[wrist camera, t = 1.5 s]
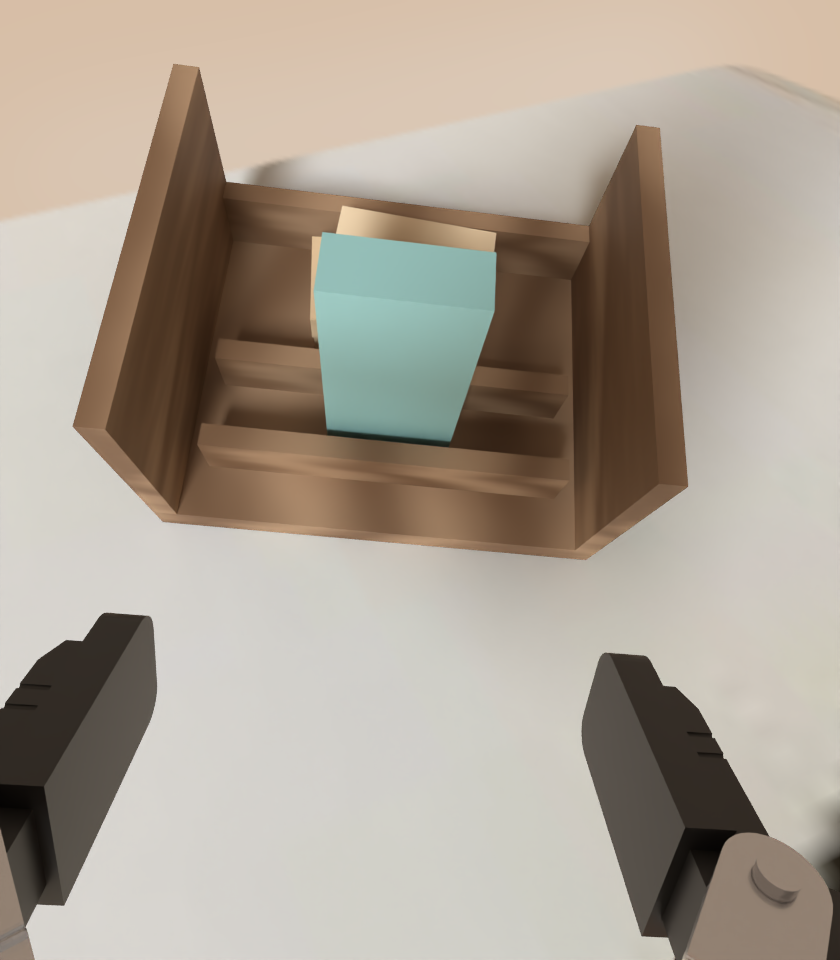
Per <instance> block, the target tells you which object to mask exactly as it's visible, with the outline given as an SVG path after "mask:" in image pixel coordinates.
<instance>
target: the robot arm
mask: <svg viewBox="0 0 840 960" xmlns="http://www.w3.org/2000/svg"><path fill="white" fill-rule="evenodd" d="M156 694H157V676H156V661H155V645H154V629H153V622H152V619H151V617H149V616H142V615H129V614H116V613H104V614H102V615H101V616H100V617H99V618H98V620H97V621H96V623H95V624H94V626H93V627H92V628H91V630H90V631H89V633H88V634H87V636H86V637H85V639H84V640H83V641H71V640H66V641H64V642H63V643H61V644H60V645H59V646H57V647H56V648H54V649H53V650H51V651H50V652H48V653H47V654H45V655H44V656H43V657H41V658H40V659H38V660H37V662H36V663H35V664H34V666H33V667H32V668H31V670H30V671H29V672H28V674H27V675H26V676H25V678H24V679H23V680H22V681H21V683H20V687H19V688H16V689H15V691H14V692H13V693H12V695H11V696H10V697H9V699H8V700H7V701H6V703H5V707H4V708H1V709H0V960H35V959H34V955H33V951H32V948H31V944H30V940H29V936H28V932H27V929H26V928H25V927H26V925H27V923H28V921H29V919H30V917H31V915H32V913H33V911H34V909H35V907H36V905H37V904H40V905H61V906H64V905H65V903H66V900H67V898H68V896H69V894H70V892H71V890H72V888H73V885H74V883H75V881H76V879H77V877H78V875H79V873H80V870H81V868H82V866H83V864H84V862H85V860H86V858H87V855H88V853H89V851H90V849H91V847H92V845H93V843H94V840H95V838H96V836H97V834H98V832H99V830H100V828H101V825H102V823H103V821H104V819H105V817H106V815H107V813H108V810H109V808H110V806H111V804H112V802H113V800H114V798H115V795H116V793H117V791H118V789H119V787H120V785H121V783H122V780H123V778H124V776H125V774H126V772H127V770H128V768H129V765H130V763H131V761H132V759H133V757H134V755H135V752H136V750H137V748H138V746H139V744H140V742H141V740H142V737H143V735H144V733H145V731H146V729H147V727H148V725H149V722H150V720H151V717H152V714H153V710H154V706H155V701H156ZM582 745H583V750H584V754H585V757H586V761H587V764H588V767H589V770H590V773H591V777H592V780H593V783H594V786H595V789H596V792H597V796H598V799H599V802H600V805H601V808H602V812H603V815H604V818H605V821H606V824H607V827H608V831H609V834H610V837H611V840H612V843H613V847H614V850H615V853H616V856H617V859H618V862H619V866H620V869H621V872H622V875H623V878H624V882H625V885H626V888H627V891H628V894H629V897H630V901H631V904H632V907H633V910H634V913H635V917H636V920H637V923H638V926H639V929H640V932H641V936H646V937H667V938H669V941H670V944H671V947H672V950H673V953H674V955H675V957H674V959H673V960H840V892H837V891H835V890H832V889H830V888H828V887H827V885H826V884H825V882H824V880H823V878H822V877H821V876H820V874H819V873H818V872H817V870H816V869H815V868H814V867H813V866H812V865H811V864H810V863H809V862H808V861H807V860H806V859H805V858H804V857H803V856H802V855H800V854H799V853H798V852H796V851H795V850H794V849H792V848H791V847H789V846H788V845H786V844H784V843H782V842H780V841H778V840H776V839H774V838H771V837H769V835H768V833H767V832H766V830H765V828H764V826H763V824H762V823H761V821H760V819H759V817H758V815H757V814H756V812H755V810H754V808H753V806H752V805H751V803H750V801H749V799H748V797H747V796H746V794H745V792H744V790H743V788H742V787H741V785H740V783H739V781H738V779H737V778H736V776H735V774H734V772H733V770H732V769H731V767H730V765H729V763H728V761H727V760H726V759H724V758H723V752H722V751H721V749H720V747H719V745H718V743H717V742H716V740H715V738H712V733H711V731H710V729H709V727H708V725H707V724H706V722H705V720H704V718H703V716H702V715H701V713H700V711H699V709H698V708H697V707H696V706H695V705H694V704H693V703H692V702H691V701H690V700H689V699H687V698H686V697H685V696H684V695H683V694H682V693H681V692H680V691H679V690H678V689H677V688H676V687H669V686H663V685H662V683H661V681H660V679H659V677H658V675H657V673H656V671H655V669H654V667H653V665H652V663H651V661H650V660H649V659H648V657H646V656H641V655H628V654H615V653H604V654H602V656H601V657H600V659H599V662H598V665H597V669H596V672H595V676H594V679H593V683H592V686H591V690H590V694H589V697H588V701H587V704H586V708H585V711H584V715H583V720H582Z"/></svg>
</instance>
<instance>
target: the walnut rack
mask: <svg viewBox="0 0 840 960" xmlns="http://www.w3.org/2000/svg"><path fill="white" fill-rule="evenodd" d="M342 206H347V207H353V208H358V209H364V210H370V211H375V212H381V213H387V214H392V215H398V216H404V217H409V218H415V219H421V220H426V221H432V222H437V223H443V224H449V225H454V226H460V227H466V228H471V229H477V230H483V231H488V232H494V233H496V240H495V249H494V252H496V282H495V311H494V314H493V317H492V320H491V323H490V326H489V329H488V332H487V335H486V338H485V341H484V344H483V347H482V350H481V353H480V356H479V359H478V362H477V365H476V368H475V371H474V374H473V377H472V380H471V383H470V386H469V389H468V392H467V395H466V398H465V400H464V403H463V406H462V409H461V412H460V415H459V418H458V421H457V424H456V427H455V430H454V433H453V436H452V439H451V442H450V445H449V448H448V447H438V446H428V445H418V444H408V443H397V442H387V441H377V440H367V439H357V438H347V437H337V436H327V425H326V415H325V404H324V394H323V384H322V373H321V363H320V352H319V349H315V343H314V337H312V331H311V322H310V305H311V263H312V236H315V237H322V232H326V233H335V234H336V231H337V227H338V222H339V218H340V214H341V209H342ZM73 427H74V428H75V429H76V430H77V432H78V433H79V434H80V435H81V436H82V437H83V438H84V439H85V440H86V441H87V442H88V443H89V444H90V445H91V446H92V447H93V448H94V450H95V451H96V452H97V453H98V454H99V455H100V456H101V457H102V458H103V459H104V460H105V461H106V462H107V463H108V464H109V465H110V466H111V467H112V469H113V470H114V471H115V472H116V473H117V474H118V475H119V476H120V477H121V478H122V479H123V480H124V481H125V482H126V483H127V484H128V485H129V486H130V488H131V489H132V490H133V491H134V492H135V493H136V494H137V495H138V496H139V497H140V498H141V499H142V500H143V501H144V502H145V503H146V504H147V505H148V507H149V508H150V509H151V510H152V511H153V512H154V513H155V514H156V515H157V516H158V517H159V518H160V519H161V520H162V521H163V522H170V523H181V524H192V525H203V526H215V527H226V528H237V529H248V530H259V531H270V532H281V533H292V534H303V535H315V536H326V537H337V538H348V539H359V540H370V541H381V542H392V543H404V544H415V545H426V546H437V547H448V548H459V549H470V550H481V551H492V552H504V553H515V554H526V555H537V556H548V557H559V558H570V559H581V560H586V559H588V558H589V557H591V556H592V555H593V554H595V553H596V552H598V551H599V550H600V549H602V548H603V547H605V546H606V545H607V544H609V543H610V542H612V541H613V540H614V539H616V538H617V537H619V536H620V535H621V534H623V533H624V532H626V531H627V530H628V529H630V528H631V527H632V526H634V525H635V524H637V523H638V522H639V521H641V520H642V519H644V518H645V517H646V516H648V515H649V514H651V513H652V512H653V511H655V510H656V509H658V508H659V507H660V506H662V505H663V504H665V503H666V502H667V501H669V500H670V499H672V498H673V497H674V496H676V495H677V494H679V493H680V492H681V491H683V490H684V489H686V488H687V487H688V478H687V466H686V453H685V441H684V428H683V415H682V403H681V390H680V378H679V365H678V352H677V340H676V327H675V314H674V302H673V289H672V277H671V264H670V251H669V239H668V226H667V214H666V201H665V188H664V176H663V163H662V151H661V138H660V128H656V127H648V126H641V125H636V127H635V129H634V131H633V133H632V135H631V138H630V140H629V142H628V144H627V146H626V148H625V150H624V153H623V155H622V157H621V159H620V161H619V163H618V165H617V168H616V170H615V172H614V174H613V176H612V178H611V180H610V182H609V185H608V187H607V189H606V191H605V193H604V195H603V197H602V200H601V202H600V204H599V206H598V208H597V210H596V212H595V214H594V217H593V219H592V221H591V223H590V225H589V226H585V225H576V224H568V223H560V222H552V221H544V220H535V219H527V218H519V217H511V216H503V215H494V214H486V213H478V212H470V211H461V210H453V209H445V208H437V207H429V206H420V205H412V204H404V203H396V202H388V201H379V200H371V199H363V198H355V197H346V196H338V195H330V194H322V193H314V192H305V191H297V190H289V189H281V188H273V187H264V186H256V185H248V184H240V183H231V182H226V179H225V175H224V171H223V166H222V162H221V158H220V154H219V150H218V145H217V141H216V137H215V133H214V129H213V124H212V120H211V116H210V112H209V107H208V104H207V99H206V95H205V91H204V86H203V82H202V78H201V74H200V70H199V67H193V66H185V65H178V64H173V68H172V71H171V75H170V78H169V82H168V86H167V89H166V93H165V97H164V100H163V104H162V107H161V111H160V114H159V118H158V122H157V125H156V129H155V132H154V136H153V139H152V143H151V147H150V150H149V154H148V157H147V161H146V165H145V168H144V172H143V175H142V179H141V183H140V186H139V190H138V193H137V197H136V201H135V204H134V208H133V211H132V215H131V219H130V222H129V226H128V229H127V233H126V236H125V240H124V244H123V247H122V251H121V254H120V258H119V262H118V265H117V269H116V272H115V276H114V280H113V283H112V287H111V290H110V294H109V298H108V301H107V305H106V308H105V312H104V316H103V319H102V323H101V326H100V330H99V333H98V337H97V341H96V344H95V348H94V351H93V355H92V359H91V362H90V366H89V369H88V373H87V377H86V380H85V384H84V387H83V391H82V395H81V398H80V402H79V405H78V409H77V412H76V416H75V420H74V423H73Z"/></svg>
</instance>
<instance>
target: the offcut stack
mask: <svg viewBox="0 0 840 960" xmlns="http://www.w3.org/2000/svg"><path fill="white" fill-rule="evenodd" d="M336 234H343V235H352V236H360V237H369V238H377V239H386V240H394V241H403V242H411V243H420V244H428V245H436V246H445V247H453V248H462V249H470V250H479V251H487V252H494V249H495V240H496V233H494V232H488V231H483V230H477V229H471V228H466V227H460V226H454V225H449V224H443V223H437V222H432V221H426V220H421V219H415V218H409V217H404V216H398V215H392V214H387V213H381V212H375V211H370V210H364V209H358V208H353V207H347V206H342V209H341V214H340V218H339V222H338V227H337V231H336ZM321 238H322V237H315V236H312V263H311V305H310V322H311V331H312V337H314V343H315V349H319V342H318V332H317V321H316V311H315V300H314V285H315V278H316V271H317V265H318V258H319V251H320V244H321Z"/></svg>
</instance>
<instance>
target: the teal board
mask: <svg viewBox="0 0 840 960" xmlns="http://www.w3.org/2000/svg"><path fill="white" fill-rule="evenodd" d="M495 282H496V252H487V251H479V250H470V249H462V248H453V247H445V246H436V245H428V244H420V243H411V242H403V241H394V240H386V239H377V238H369V237H360V236H352V235H343V234H335V233H326V232H322V238H321V244H320V251H319V258H318V265H317V271H316V278H315V285H314V300H315V311H316V321H317V332H318V342H319V352H320V363H321V373H322V384H323V394H324V404H325V415H326V425H327V436H337V437H347V438H357V439H367V440H377V441H387V442H397V443H408V444H418V445H428V446H438V447H448V448H449V445H450V442H451V439H452V436H453V433H454V430H455V427H456V424H457V421H458V418H459V415H460V412H461V409H462V406H463V403H464V400H465V398H466V395H467V392H468V389H469V386H470V383H471V380H472V377H473V374H474V371H475V368H476V365H477V362H478V359H479V356H480V353H481V350H482V347H483V344H484V341H485V338H486V335H487V332H488V329H489V326H490V323H491V320H492V317H493V314H494V311H495Z"/></svg>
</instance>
